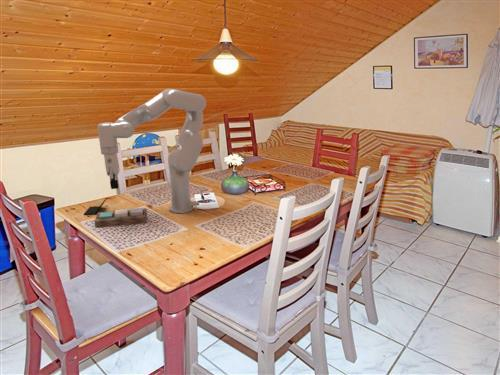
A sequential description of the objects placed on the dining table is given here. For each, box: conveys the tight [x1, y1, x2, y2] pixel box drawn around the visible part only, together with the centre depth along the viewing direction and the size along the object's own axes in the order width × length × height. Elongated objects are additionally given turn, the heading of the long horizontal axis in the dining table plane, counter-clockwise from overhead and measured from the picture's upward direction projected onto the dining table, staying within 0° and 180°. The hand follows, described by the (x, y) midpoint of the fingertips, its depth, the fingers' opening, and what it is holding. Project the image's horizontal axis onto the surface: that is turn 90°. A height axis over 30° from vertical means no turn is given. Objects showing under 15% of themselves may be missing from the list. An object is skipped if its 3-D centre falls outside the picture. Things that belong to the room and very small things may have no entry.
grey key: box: [130, 207, 144, 216], centre depth 184 cm, size 6×6×2 cm
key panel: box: [94, 208, 148, 228], centre depth 183 cm, size 23×12×3 cm, turn 104°
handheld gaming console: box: [83, 198, 107, 216], centre depth 195 cm, size 12×7×10 cm
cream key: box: [114, 208, 129, 218], centre depth 182 cm, size 6×6×2 cm
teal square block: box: [99, 211, 113, 219], centre depth 181 cm, size 6×6×2 cm
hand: (114, 188), depth 178 cm, fingers closed
